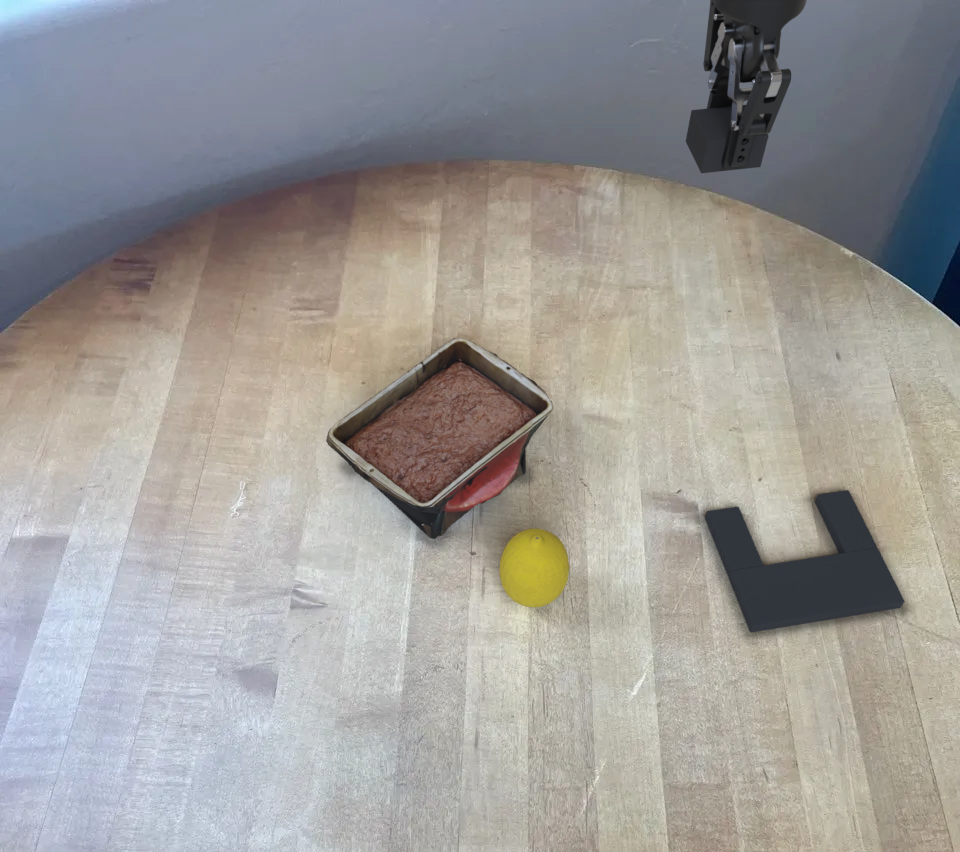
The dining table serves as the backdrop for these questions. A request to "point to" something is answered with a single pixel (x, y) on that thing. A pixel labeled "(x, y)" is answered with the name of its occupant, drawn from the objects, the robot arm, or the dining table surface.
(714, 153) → the black block
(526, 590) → the lemon
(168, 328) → the dining table surface
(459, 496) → the baking dish
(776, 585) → the charcoal pad
